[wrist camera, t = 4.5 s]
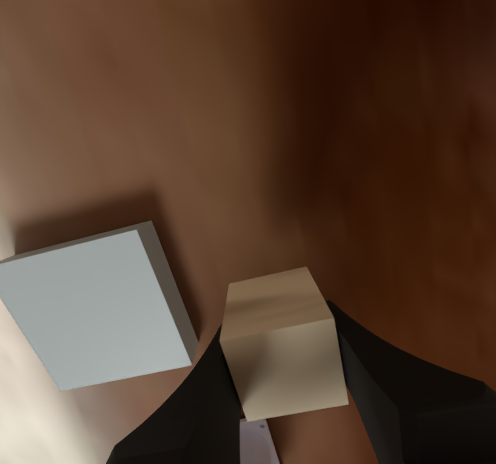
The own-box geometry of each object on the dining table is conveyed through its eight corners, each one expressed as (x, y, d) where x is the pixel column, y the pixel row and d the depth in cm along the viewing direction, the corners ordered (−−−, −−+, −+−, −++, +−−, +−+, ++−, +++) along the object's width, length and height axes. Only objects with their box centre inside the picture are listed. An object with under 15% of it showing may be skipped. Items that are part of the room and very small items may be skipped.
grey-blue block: (199, 338, 22) (191, 365, 19) (83, 362, 23) (60, 391, 20) (153, 218, 19) (136, 229, 16) (20, 252, 20) (-19, 268, 17)
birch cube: (319, 331, 14) (348, 404, 10) (248, 345, 15) (247, 421, 10) (306, 266, 13) (334, 317, 9) (229, 283, 14) (219, 340, 9)
